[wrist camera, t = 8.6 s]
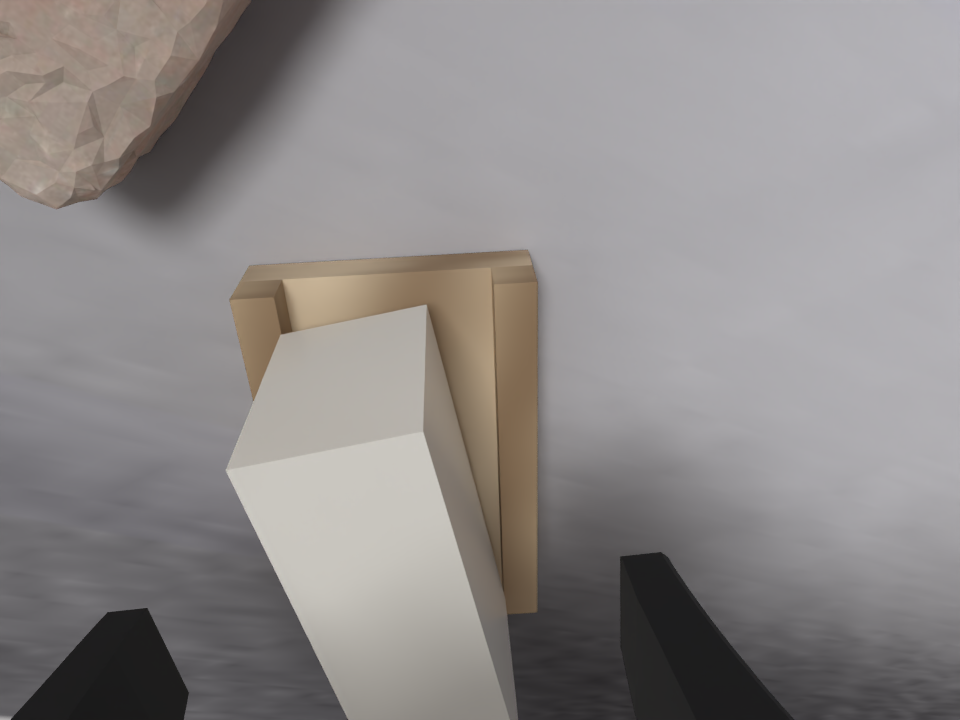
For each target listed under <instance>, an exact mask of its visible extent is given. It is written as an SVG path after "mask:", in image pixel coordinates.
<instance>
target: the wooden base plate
mask: <svg viewBox="0 0 960 720" xmlns="http://www.w3.org/2000/svg"><path fill="white" fill-rule="evenodd" d="M426 304H427V307H428V311H429V315H430V319H431V322H432V326H433V330H434V334H435V337H436V341H437V345H438V349H439V352H440V356H441V360H442V364H443V367H444V371H445V375H446V378H447V382H448V386H449V390H450V393H451V397H452V401H453V405H454V408H455V412H456V416H457V420H458V423H459V427H460V431H461V435H462V438H463V442H464V446H465V449H466V453H467V457H468V461H469V464H470V468H471V472H472V476H473V479H474V483H475V487H476V491H477V494H478V498H479V502H480V506H481V509H482V513H483V517H484V520H485V524H486V528H487V532H488V535H489V539H490V543H491V547H492V550H493V554H494V558H495V562H496V565H497V569H498V573H499V576H500V580H501V584H502V588H503V591H504V595H505V600H506V610H507V614H521V613H536V612H537V352H538V282H537V278H536V275H535V272H534V269H533V265H532V262H531V259H530V255H529V252H528V250H518V251H500V252H482V253H465V254H447V255H430V256H412V257H395V258H377V259H360V260H342V261H324V262H307V263H289V264H272V265H254V266H249V267H248V269H247V271H246V272H245V274H244V276H243V278H242V279H241V281H240V283H239V284H238V286H237V288H236V289H235V291H234V293H233V295H232V296H231V298H230V305H231V309H232V313H233V317H234V321H235V326H236V330H237V334H238V338H239V342H240V347H241V351H242V355H243V359H244V363H245V368H246V372H247V376H248V380H249V384H250V389H251V393H252V397H253V401H254V399H255V397H256V394H257V392H258V389H259V387H260V384H261V382H262V379H263V377H264V374H265V372H266V369H267V367H268V364H269V362H270V360H271V357H272V355H273V352H274V350H275V347H276V345H277V342H278V340H279V337H280V335H282V334H287V333H291V332H296V331H301V330H306V329H311V328H316V327H320V326H325V325H330V324H335V323H340V322H344V321H349V320H354V319H359V318H364V317H369V316H373V315H378V314H383V313H388V312H393V311H397V310H402V309H407V308H412V307H417V306H421V305H426Z"/></svg>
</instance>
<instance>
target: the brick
mask: <svg viewBox="0 0 960 720" xmlns="http://www.w3.org/2000/svg"><path fill="white" fill-rule="evenodd" d="M251 1H252V0H0V180H1V181H2V182H4V183H5V184H7V185H8V186H9V187H11V188H12V189H13V190H14V191H15V192H17V193H18V194H19V195H20V196H21V197H24V198H27V199H30V200H32V201H35V202H38V203H41V204H43V205H46V206H49V207H52V208H54V209H59V208H62V207H65V206H68V205H71V204H74V203H77V202H81V201H87V200H94V199H97V198H98V197H99V196H100V195H101V194H102V193H103V192H104V191H105V190H107V189H108V188H110V187H112V186H114V185H116V184H118V183H120V182H122V181H123V179H124V178H125V177H126V176H127V175H128V174H129V173H130V172H131V170H132V168H133V166H134V165H135V163H136V161H137V159H138V158H139V157H140V156H142V155H144V154H147V153H149V152H150V151H151V150H152V148H153V147H154V145H155V143H156V142H157V140H158V139H159V137H160V136H161V135H162V134H163V133H164V132H165V131H166V130H167V128H168V127H169V126H170V125H171V124H172V123H173V122H174V121H175V120H176V118H177V116H178V115H179V113H180V111H181V109H182V108H183V106H184V104H185V103H186V101H187V99H188V98H189V96H190V94H191V93H192V91H193V89H194V88H195V86H196V85H197V83H198V82H199V80H200V79H201V77H202V76H203V74H204V72H205V70H206V69H207V67H208V65H209V63H210V61H211V59H212V57H213V55H214V53H215V51H216V49H217V48H218V47H219V46H220V44H221V43H222V42H223V41H224V40H225V38H226V37H227V36H228V35H229V34H230V32H231V31H232V29H233V28H234V26H235V25H236V23H237V21H238V20H239V18H240V16H241V15H242V13H243V12H244V10H245V9H246V8H247V6H248V5H249V4H250V2H251Z"/></svg>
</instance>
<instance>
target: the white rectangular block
mask: <svg viewBox="0 0 960 720" xmlns="http://www.w3.org/2000/svg"><path fill="white" fill-rule="evenodd" d="M226 472H227V474H228V476H229V478H230V480H231V482H232V484H233V486H234V488H235V490H236V492H237V494H238V496H239V499H240V501H241V503H242V505H243V507H244V509H245V511H246V513H247V515H248V517H249V519H250V521H251V523H252V525H253V527H254V529H255V531H256V533H257V535H258V537H259V539H260V541H261V543H262V545H263V547H264V549H265V551H266V553H267V555H268V558H269V560H270V562H271V564H272V566H273V568H274V570H275V572H276V574H277V576H278V578H279V580H280V582H281V584H282V586H283V588H284V590H285V592H286V594H287V596H288V598H289V600H290V602H291V604H292V606H293V608H294V610H295V612H296V614H297V617H298V619H299V621H300V623H301V625H302V627H303V629H304V631H305V633H306V635H307V637H308V639H309V641H310V643H311V645H312V647H313V649H314V651H315V653H316V655H317V657H318V659H319V661H320V663H321V665H322V667H323V669H324V671H325V673H326V676H327V678H328V680H329V682H330V684H331V686H332V688H333V690H334V692H335V694H336V696H337V698H338V700H339V702H340V704H341V706H342V708H343V710H344V712H345V714H346V716H347V718H348V720H518V714H517V705H516V695H515V686H514V676H513V667H512V657H511V648H510V638H509V629H508V619H507V610H506V600H505V595H504V591H503V588H502V584H501V580H500V576H499V573H498V569H497V565H496V562H495V558H494V554H493V550H492V547H491V543H490V539H489V535H488V532H487V528H486V524H485V520H484V517H483V513H482V509H481V506H480V502H479V498H478V494H477V491H476V487H475V483H474V479H473V476H472V472H471V468H470V464H469V461H468V457H467V453H466V449H465V446H464V442H463V438H462V435H461V431H460V427H459V423H458V420H457V416H456V412H455V408H454V405H453V401H452V397H451V393H450V390H449V386H448V382H447V378H446V375H445V371H444V367H443V364H442V360H441V356H440V352H439V349H438V345H437V341H436V337H435V334H434V330H433V326H432V322H431V319H430V315H429V311H428V307H427V304H426V305H421V306H417V307H412V308H407V309H402V310H397V311H393V312H388V313H383V314H378V315H373V316H369V317H364V318H359V319H354V320H349V321H344V322H340V323H335V324H330V325H325V326H320V327H316V328H311V329H306V330H301V331H296V332H291V333H287V334H282V335H280V337H279V340H278V342H277V345H276V347H275V350H274V352H273V355H272V357H271V360H270V362H269V364H268V367H267V369H266V372H265V374H264V377H263V379H262V382H261V384H260V387H259V389H258V392H257V394H256V397H255V399H254V402H253V404H252V407H251V409H250V412H249V414H248V417H247V419H246V422H245V424H244V427H243V429H242V431H241V434H240V436H239V439H238V441H237V444H236V446H235V449H234V451H233V454H232V456H231V459H230V461H229V464H228V466H227V469H226Z"/></svg>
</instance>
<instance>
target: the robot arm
mask: <svg viewBox="0 0 960 720" xmlns="http://www.w3.org/2000/svg"><path fill="white" fill-rule="evenodd" d="M620 599H621V651H622V655H623V660H624V665H625V670H626V675H627V680H628V684H629V689H630V693H631V698H632V703H633V707H634V712H635V716H636V719H637V720H794V719H793V718H792V717H791V716H790V714H789V713H788V712H787V711H786V710H785V709H784V708H783V707H782V706H781V704H780V703H779V702H778V701H777V700H776V699H775V697H774V696H773V695H772V694H771V693H770V692H769V691H768V689H767V688H766V687H765V686H764V685H763V684H762V682H761V681H760V680H759V679H758V678H757V676H756V675H755V674H754V673H753V671H752V670H751V669H750V668H749V667H748V665H747V664H746V663H745V662H744V661H743V659H742V658H741V657H740V656H739V654H738V653H737V652H736V651H735V650H734V648H733V647H732V646H731V645H730V643H729V642H728V641H727V640H726V638H725V637H724V636H723V634H722V633H721V632H720V631H719V629H718V628H717V627H716V625H715V624H714V623H713V621H712V620H711V619H710V617H709V616H708V615H707V613H706V612H705V611H704V609H703V608H702V607H701V605H700V604H699V603H698V601H697V600H696V598H695V597H694V596H693V594H692V593H691V591H690V590H689V589H688V587H687V586H686V584H685V583H684V581H683V580H682V578H681V577H680V575H679V574H678V572H677V571H676V569H675V568H674V566H673V565H672V563H671V562H670V560H669V558H668V557H667V556H665V555H664V554H663V553H661V552H658V553H649V554H640V555H631V556H622V557H620ZM188 694H189V692H188V690H187V688H186V686H185V684H184V682H183V680H182V678H181V676H180V674H179V672H178V670H177V668H176V666H175V664H174V662H173V659H172V657H171V655H170V653H169V651H168V649H167V647H166V645H165V643H164V641H163V639H162V637H161V635H160V633H159V631H158V629H157V627H156V625H155V623H154V621H153V619H152V617H151V615H150V613H149V611H148V609H147V608H143V609H134V610H125V611H116V612H108V613H107V614H106V615H105V616H104V617H103V618H102V619H101V620H100V621H99V622H98V623H97V624H96V625H95V626H94V628H93V629H92V630H91V631H90V632H89V633H88V634H87V635H86V636H85V637H84V639H83V640H82V641H81V642H80V643H79V644H78V645H77V646H76V648H75V649H74V650H73V651H72V652H71V653H70V654H69V655H68V657H67V658H66V659H65V660H64V661H63V662H62V663H61V664H60V665H59V667H58V668H57V669H56V670H55V671H54V672H53V673H52V674H51V676H50V677H49V678H48V679H47V680H46V681H45V682H44V683H43V685H42V686H41V687H40V688H39V689H38V690H37V691H36V692H35V694H34V695H33V696H32V697H31V698H30V699H29V700H28V701H27V702H26V703H25V704H24V706H23V707H22V708H21V709H20V710H19V711H18V712H17V713H16V714H15V715H14V717H13V718H12V719H11V720H184V715H185V710H186V705H187V699H188Z"/></svg>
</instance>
